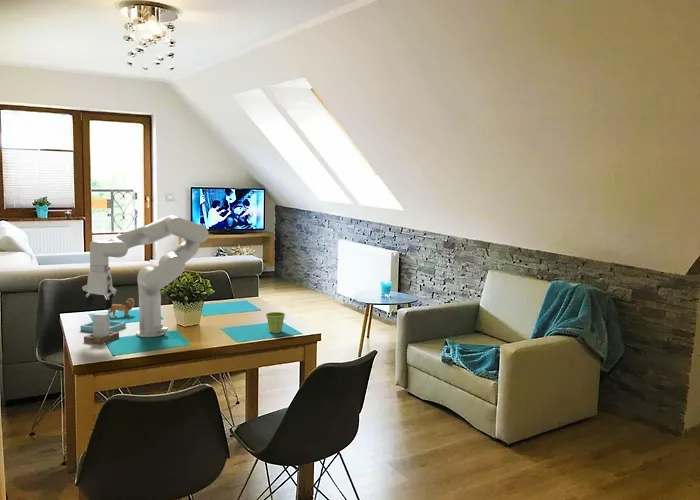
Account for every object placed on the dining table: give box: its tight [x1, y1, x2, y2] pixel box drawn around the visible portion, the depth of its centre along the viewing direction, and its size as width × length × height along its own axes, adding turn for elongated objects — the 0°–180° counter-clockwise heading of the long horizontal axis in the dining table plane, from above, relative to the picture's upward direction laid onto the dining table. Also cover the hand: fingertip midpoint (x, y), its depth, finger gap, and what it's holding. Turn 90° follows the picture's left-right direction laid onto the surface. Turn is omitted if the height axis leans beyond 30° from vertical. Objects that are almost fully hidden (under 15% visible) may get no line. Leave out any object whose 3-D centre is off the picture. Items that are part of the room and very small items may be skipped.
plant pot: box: [265, 311, 286, 334], centre depth 288 cm, size 9×9×9 cm
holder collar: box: [83, 331, 120, 345], centre depth 267 cm, size 9×11×2 cm
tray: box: [80, 320, 127, 334], centre depth 285 cm, size 15×13×2 cm
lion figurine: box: [107, 297, 135, 319], centre depth 309 cm, size 15×5×9 cm, turn 130°
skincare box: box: [92, 312, 111, 338], centre depth 267 cm, size 6×4×12 cm
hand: (99, 306), depth 265 cm, fingers open, 9 cm apart
